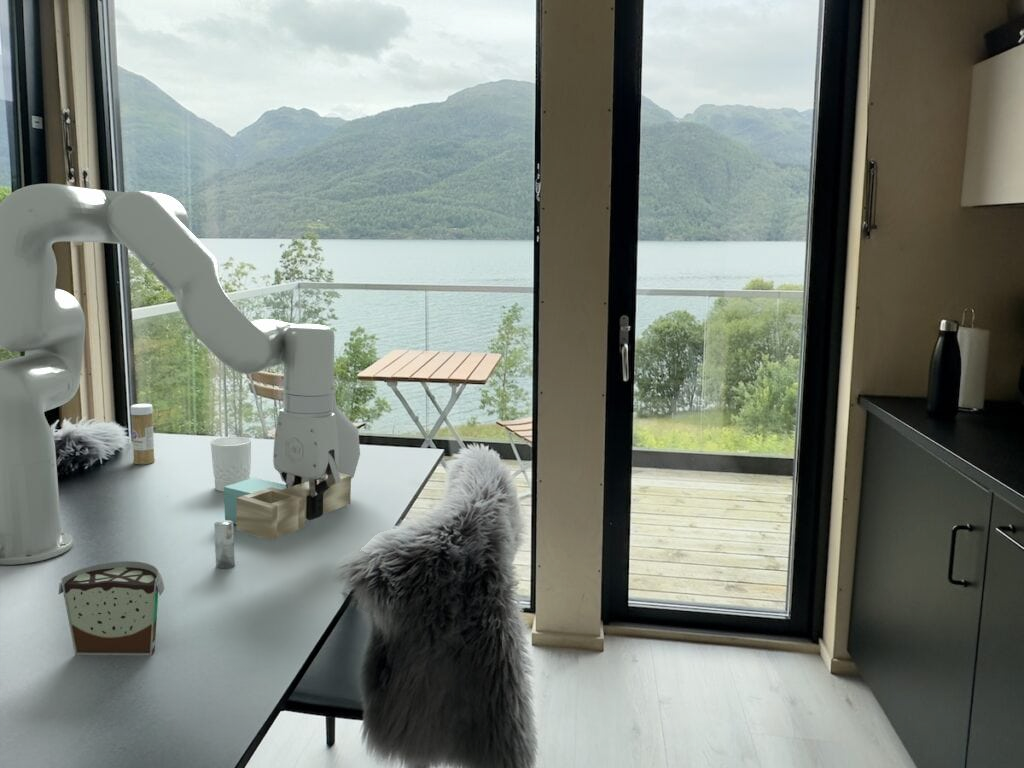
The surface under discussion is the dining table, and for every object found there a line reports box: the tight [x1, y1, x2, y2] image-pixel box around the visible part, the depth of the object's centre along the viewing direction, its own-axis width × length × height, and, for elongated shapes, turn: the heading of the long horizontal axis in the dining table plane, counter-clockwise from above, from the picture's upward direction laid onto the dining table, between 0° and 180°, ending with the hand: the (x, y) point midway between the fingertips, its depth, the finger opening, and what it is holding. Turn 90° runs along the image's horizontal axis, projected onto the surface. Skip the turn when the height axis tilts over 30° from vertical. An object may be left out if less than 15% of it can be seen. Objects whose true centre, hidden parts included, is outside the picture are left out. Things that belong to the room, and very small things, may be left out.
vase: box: [279, 374, 361, 484], centre depth 159 cm, size 17×16×28 cm
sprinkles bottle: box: [130, 403, 156, 466], centre depth 183 cm, size 5×5×14 cm
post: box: [213, 519, 236, 570], centre depth 127 cm, size 3×3×7 cm
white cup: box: [210, 436, 252, 493], centre depth 166 cm, size 8×8×10 cm
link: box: [236, 472, 352, 541], centre depth 128 cm, size 20×7×5 cm, turn 151°
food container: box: [57, 560, 165, 656], centre depth 102 cm, size 12×6×10 cm, turn 92°
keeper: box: [223, 477, 286, 525], centre depth 146 cm, size 7×14×6 cm, turn 61°
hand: (305, 514), depth 129 cm, fingers closed on link, 3 cm apart
